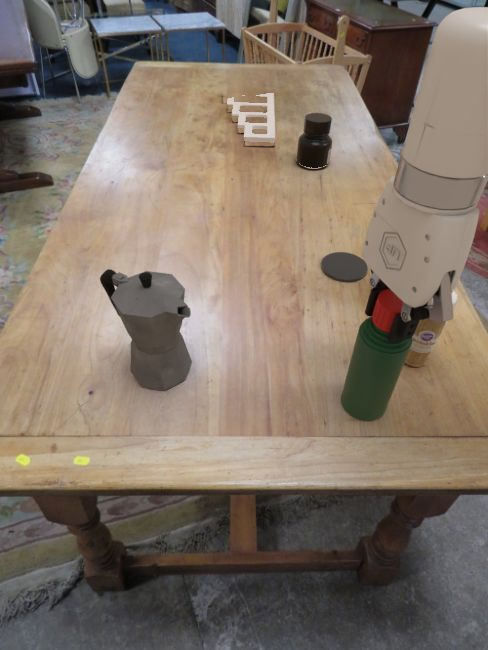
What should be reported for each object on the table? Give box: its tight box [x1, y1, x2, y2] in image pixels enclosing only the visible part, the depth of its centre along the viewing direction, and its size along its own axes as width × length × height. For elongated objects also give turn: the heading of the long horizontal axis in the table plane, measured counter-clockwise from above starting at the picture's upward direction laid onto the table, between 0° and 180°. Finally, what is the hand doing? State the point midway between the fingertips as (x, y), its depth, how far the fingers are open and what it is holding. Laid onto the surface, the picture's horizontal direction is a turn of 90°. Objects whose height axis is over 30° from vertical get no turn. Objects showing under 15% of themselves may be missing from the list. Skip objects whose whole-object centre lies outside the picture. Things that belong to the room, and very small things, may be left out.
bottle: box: [340, 316, 413, 422], centre depth 56 cm, size 6×6×19 cm
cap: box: [372, 289, 403, 333], centre depth 50 cm, size 4×4×3 cm
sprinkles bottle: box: [404, 289, 459, 368], centre depth 64 cm, size 5×5×13 cm
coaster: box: [320, 251, 369, 283], centre depth 85 cm, size 9×9×1 cm
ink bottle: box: [295, 112, 333, 168], centre depth 114 cm, size 10×9×12 cm
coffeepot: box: [99, 268, 193, 391], centre depth 61 cm, size 15×9×18 cm, turn 57°
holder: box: [226, 92, 276, 143], centre depth 141 cm, size 45×18×3 cm, turn 178°
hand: (388, 324), depth 52 cm, fingers closed on cap, 4 cm apart
